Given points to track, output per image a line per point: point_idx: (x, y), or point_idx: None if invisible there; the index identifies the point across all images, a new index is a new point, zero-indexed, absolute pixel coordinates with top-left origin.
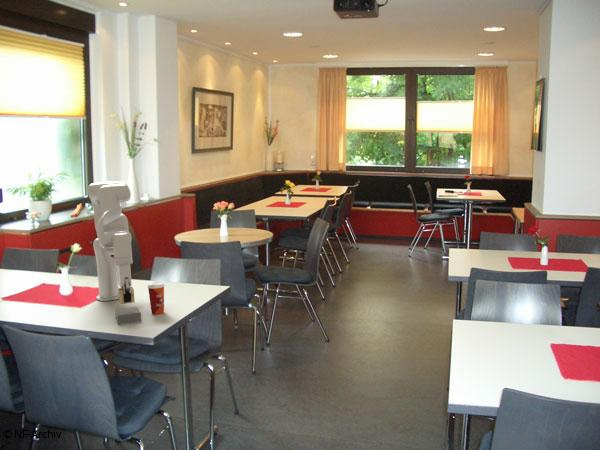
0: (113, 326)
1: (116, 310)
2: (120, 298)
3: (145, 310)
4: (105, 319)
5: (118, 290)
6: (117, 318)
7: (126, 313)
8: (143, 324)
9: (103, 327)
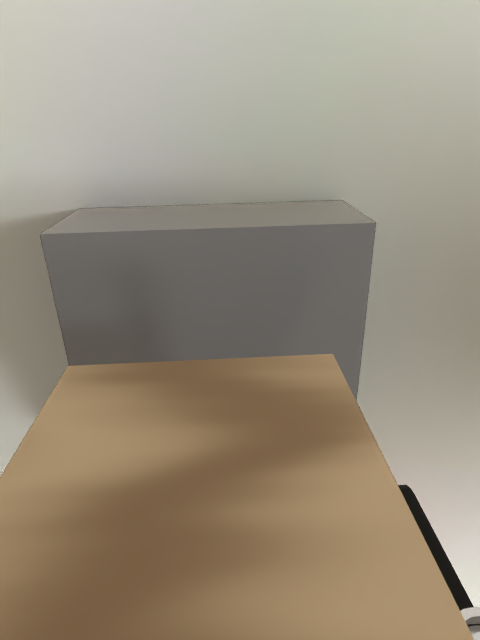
0: (18, 148)
1: (328, 246)
2: (19, 450)
3: (441, 475)
4: (374, 76)
5: (316, 580)
6: (73, 222)
7: (108, 352)
8: (4, 426)
9: (8, 9)
